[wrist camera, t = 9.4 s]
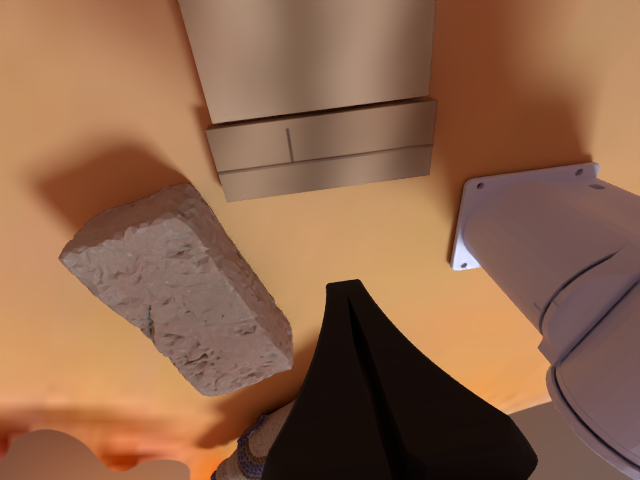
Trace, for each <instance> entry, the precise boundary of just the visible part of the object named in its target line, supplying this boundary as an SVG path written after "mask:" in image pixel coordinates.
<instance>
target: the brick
mask: <svg viewBox="0 0 640 480" xmlns="http://www.w3.org/2000/svg"><path fill="white" fill-rule="evenodd" d="M58 259H59V260H60V261H61V263H62V264H63V265H64V266H65V267H66V268H67V269H68V270H69V271H70V272H71V273H72V274H73V275H75V276H76V277H77V278H78V279H79V281H80V282H81V283H82V284H83V285H85V286H86V287H87V288H88V289H89V290H90V292H91V293H92V294H93V295H94V296H96V297H98V298H99V299H100V300H101V301H102V302H103V303H104V304H106V305H107V306H108V307H110V308H111V309H112V310H113V311H115V312H116V313H117V314H119V315H120V316H122V317H123V318H125V319H126V320H127V321H128V322H130V323H131V324H133V325H134V326H136V327H139V328H141V331H142V332H143V333H144V334H145V336H147V337H148V338H149V339H151V340H152V341H153V343H154V345H155V347H156V348H157V350H158V351H159V352H160V353H163V356H166V357H169V358H170V360H171V362H172V363H173V365H174V366H175V367H176V368H178V371H179V372H180V373H181V374H182V375H183V376H184V378H185V379H186V380H187V381H189V382H190V383H191V384H192V386H193V387H194V388H195V389H196V390H197V391H199V392H200V393H201V394H202V395H204V396H218V395H222V394H224V393H225V394H228V393H230V392H232V391H236V390H239V389H241V388H244V387H246V386H250V385H253V384H256V383H258V382H260V381H261V380H263V379H266V378H268V377H271V376H272V375H273V374H275V373H279V372H283V371H286V370H289V369H291V368H292V365H293V363H294V362H293V343H292V338H293V335H292V329H291V327H290V323H289V322H288V320H287V319H286V318H285V316H284V314H283V312H282V311H281V310H280V309H278V308H277V307H276V306H275V300H274V298H273V297H271V296H270V295H269V293H268V291H267V290H266V289H265V287H264V286H263V284H262V283H261V281H260V280H259V278H258V276H257V275H256V274H255V273H254V272H253V271H252V269H251V267H250V265H249V264H248V263H247V262H246V261H245V259H244V258H243V257H242V256H241V254H240V252H239V251H238V249H237V248H236V246H235V245H234V243H233V242H232V241H231V240H230V239H229V237H228V236H227V235H226V233H225V231H224V229H223V227H222V226H221V224H220V223H219V221H218V219H217V218H216V216H215V215H214V213H213V212H212V210H211V209H210V208H209V207H208V205H207V204H206V203H205V202H204V200H203V199H202V197H201V196H200V194H199V193H198V192H197V191H196V190H195V188H194V187H193V186H191V185H190V184H188V183H181V184H176V185H174V186H172V187H170V186H167V187H163V188H162V189H161V190H159V191H158V192H156V194H152V195H150V196H149V197H147V198H144V199H141V200H137V201H136V202H133V203H132V204H125V205H123V206H120V207H114V208H110V209H107V210H106V211H104V212H103V213H100V214H98V215H96V216H94V217H93V218H92V219H91V220H89V221H88V222H87V223H86V224H85V226H84V227H83V228H82V229H81V230H80V231H78V232H77V233H76V234H75V235H74V238H73V240H70V241H69V242H68V243H67V244H66V246H65V247H64V248H63V250H62V252H61V254H60V256H59V258H58Z"/></svg>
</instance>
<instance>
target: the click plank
mask: <svg viewBox="0 0 640 480" xmlns="http://www.w3.org/2000/svg"><path fill="white" fill-rule="evenodd" d="M178 2H179V6H180V10H181V13H182V17H183V20H184V24H185V27H186V31H187V35H188V38H189V42H190V45H191V49H192V52H193V56H194V60H195V63H196V67H197V70H198V74H199V77H200V81H201V85H202V88H203V92H204V95H205V99H206V102H207V106H208V110H209V113H210V117H211V120H212V124H214V123H222V122H229V121H237V120H245V119H252V118H260V117H268V116H276V115H283V114H291V113H299V112H306V111H314V110H322V109H330V108H337V107H345V106H353V105H360V104H368V103H376V102H383V101H391V100H399V99H407V98H414V97H422V96H429V88H430V75H431V62H432V49H433V35H434V22H435V9H436V0H178Z"/></svg>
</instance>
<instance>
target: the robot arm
mask: <svg viewBox="0 0 640 480" xmlns="http://www.w3.org/2000/svg"><path fill="white" fill-rule="evenodd" d="M599 169H600V165H599V164H597V163H595V162H589V163H581V164H574V165H567V166H559V167H552V168H545V169H537V170H530V171H523V172H515V173H508V174H501V175H493V176H486V177H479V178H472V179H469V180H468V181H466V183H465V184H464V188H463V194H462V200H461V205H460V211H459V217H458V223H457V228H456V234H455V240H454V245H453V251H452V257H451V262H450V267H451V268H452V269H453V270H455V271H458V270H465V269H472V268H478V267H482V268H483V269H484V270H485V271H486V272H487V273H488V275H489V276H490V277H491V278H492V279H493V280H494V281H495V282H496V284H497V285H498V286H499V287H500V288H501V289H502V290H503V292H504V293H505V294H506V295H507V296H508V297H509V298H510V299H511V301H512V302H513V303H514V304H515V305H516V306H517V307H518V309H519V310H520V311H521V312H522V313H523V314H524V315H525V316H526V318H527V319H528V320H529V321H530V322H531V323H532V324H533V325H534V327H535V328H536V329H537V330H538V331H539V332H540V333H541V335H542V336H543V339H542V341H541V343H540V345H539V346H538V349H539V350H540V352H541V353H542V354H543V355H544V356H545V358H546V359H547V360H548V361H549V362H550V364H551V366H550V367H549V369H548V371H547V373H546V386H547V389H548V392H549V395H550V397H551V399H552V401H553V403H554V405H555V407H556V408H557V410H558V411H559V413H560V414H561V416H562V417H563V419H564V420H565V421H566V423H567V424H568V425H569V427H570V428H571V429H572V430H573V431H574V433H576V435H577V436H578V437H579V438H580V439H581V440H582V441H583V442H584V443H585V444H586V445H587V446H588V447H590V449H592V450H593V451H594V452H595V453H596V454H598V455H599V456H600V457H601V458H603V459H604V460H605V461H607V462H608V463H609V464H611V465H612V466H614V467H615V468H616V469H618V470H619V471H621V472H623V473H624V474H626V475H627V476H629V477H631V478H632V479H634V480H640V196H638V195H635V194H633V193H631V192H628V191H626V190H624V189H621V188H619V187H617V186H614V185H612V184H610V183H607V182H605V181H602V180H600V179H598V178H596V177H597V174H598V172H599ZM577 170H578V171H577ZM576 171H577V172H576ZM479 183H481V185H480V186H479V187H477V185H478V184H479ZM463 263H464V264H463ZM462 264H463V265H462ZM537 463H538V459H537V455H536V454H535V452H534V450H533V449H532V447H531V445H530V444H529V442H528V441H527V439H526V438H525V436H524V435H523V434H522V433H521V431H520V430H519V428H518V427H517V426H516V424H515V423H514V422H513V420H512V419H511V418H510V417H509V416H508V415H506V414H505V413H503V412H501V411H500V410H498V409H497V408H495V407H494V406H492V405H490V404H489V403H487V402H486V401H484V400H483V399H481V398H480V397H478V396H477V395H475V394H474V393H473V392H471V391H470V390H468V389H467V388H466V387H464V386H463V385H461V384H460V383H459V382H457V381H456V380H455V379H453V378H452V377H451V376H450V375H448V374H447V373H446V372H444V371H443V370H442V369H441V368H439V367H438V366H437V365H436V364H434V363H433V362H432V361H431V360H430V359H429V358H427V357H426V356H425V355H424V354H423V353H422V352H421V351H419V350H418V349H417V348H416V347H415V346H414V345H413V344H412V343H411V342H410V341H409V340H408V339H407V338H406V337H405V336H404V335H403V334H402V333H401V332H400V331H399V330H398V329H397V328H396V327H395V326H394V324H393V323H392V322H391V321H390V320H389V319H388V318H387V316H386V315H385V314H384V313H383V312H382V310H381V309H380V308H379V307H378V305H377V304H376V303H375V301H374V300H373V299H372V297H371V296H370V295H369V293H368V292H367V290H366V289H365V287H364V285H363V284H362V282H361V281H360V280H359V279H355V280H348V281H341V282H334V283H328V284H327V285H326V305H325V312H324V318H323V323H322V328H321V331H320V335H319V339H318V343H317V346H316V350H315V353H314V356H313V359H312V362H311V365H310V367H309V370H308V372H307V375H306V377H305V380H304V382H303V385H302V387H301V390H300V392H299V394H298V396H297V398H296V400H295V402H294V405H293V407H292V409H291V411H290V413H289V415H288V417H287V419H286V421H285V423H284V425H283V426H282V428H281V430H280V432H279V433H278V435H277V437H276V439H275V441H274V442H273V444H272V446H271V448H270V450H269V451H268V454H267V458H266V461H265V465H264V468H263V472H262V476H261V480H527V479H528V477H530V475H531V474H532V472H533V471H534V470H535V468H536V465H537Z"/></svg>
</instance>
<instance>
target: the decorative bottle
mask: <svg viewBox="0 0 640 480" xmlns="http://www.w3.org/2000/svg"><path fill="white" fill-rule="evenodd" d="M295 400H296V399H295ZM295 400H293V401H292V402H291V403H289V404H287V405H285V406H284V407H282V408H280V409H279V410H277V411H275V412H273V413H271V414H269V415H268V416H267V415H265V414H262V415H261V416H260V418H259V419H258V421H257V422H256V423H255V424H253V425H251V426H250V427H248V428H247V429H246V430H245V431H244V432H243V434H242V435H241V437H240V438H239V439H238V441H237V442H238V446H237V449H236V450H235V451H234V453H233V454H232V455H231V456H230V457H229V458H227V459H225V460H224V461H222V462H221V463H220V464H219V466H218V467H217V470H216V471H214V472H213V474H212V475H211V477H210V478H211V480H261V476H262V472H263V468H264V465H265V461H266V458H267V454H268V451H269V450H270V448H271V446H272V444H273V442H274V441H275V439H276V437H277V435H278V433H279V432H280V430H281V428H282V426H283V425H284V423H285V421H286V419H287V417H288V415H289V413H290V411H291V409H292V407H293V405H294V402H295Z"/></svg>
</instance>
